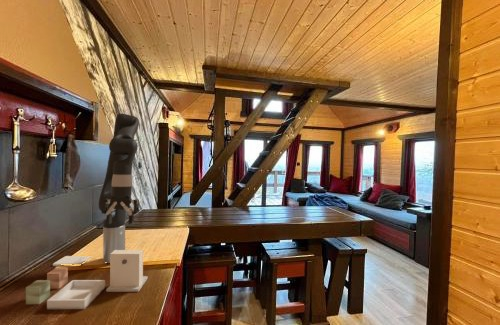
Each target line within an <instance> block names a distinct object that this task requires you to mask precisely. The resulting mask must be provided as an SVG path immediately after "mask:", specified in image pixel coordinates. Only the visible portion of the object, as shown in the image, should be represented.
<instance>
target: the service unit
mask: <svg viewBox="0 0 500 325" xmlns="http://www.w3.org/2000/svg"><path fill="white" fill-rule="evenodd" d="M148 277H149V276H147V275H144V250H143V249H125V250H114V251H113V252H112V253H111V254H110V264H109V282H110V283H109V286H108V287H107V288H106V290H105V292H107V293H108V292H109V293H110V292H112V293H113V292H115V293H116V292H117V293H118V292H119V293H121V292H122V293H123V292H124V293H125V292H127V293H129V292H133V293H134V292H137V293H138V292H139V291H140V290H141V289H142V287H143V286H144V284H145V283H146V281H147V280H148Z"/></svg>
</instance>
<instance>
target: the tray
mask: <svg viewBox="0 0 500 325" xmlns="http://www.w3.org/2000/svg"><path fill="white" fill-rule="evenodd" d="M105 288H106V280H105V279H72V280H71V281H69V282H67V283H66V284H65V285H64V286H62V287H61V288H60V290H58V291H57V292H56V293H54V294H53V295H52V296H50V297H49V298H47V299H46V309H47V311H48V310H86V309H87V307H88V306H90V304H91V303H92V302H93V301H94V300H95V299H96V298H97V297H98V296H99V295H100V293H101V292H102V291H104V289H105Z"/></svg>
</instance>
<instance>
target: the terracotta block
mask: <svg viewBox="0 0 500 325" xmlns="http://www.w3.org/2000/svg"><path fill="white" fill-rule="evenodd" d="M68 271H69V269H68V267H54V268H53V269H52V270H50V271H49V272H47V273H46V280H50V290H51V289H52V290H53V289H54V290H55V289H57V290H58V289H60V290H61V289H62V288H63V287H64V286H66V285H67V284H68V283H69V276H68V275H69V272H68Z"/></svg>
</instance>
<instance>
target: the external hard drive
mask: <svg viewBox="0 0 500 325" xmlns="http://www.w3.org/2000/svg"><path fill="white" fill-rule="evenodd" d="M91 257H92V256H88V255H87V256H83V255H82V256H80V255H65V256H64V257H62V258H60V259H58V260H57V261H55V262H53V263H52V267H59V266H58V265H61V264H72V265H74V264H82V263H83V262H85V261H86V260H88V259H89V258H91ZM91 259H92V258H91Z"/></svg>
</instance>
